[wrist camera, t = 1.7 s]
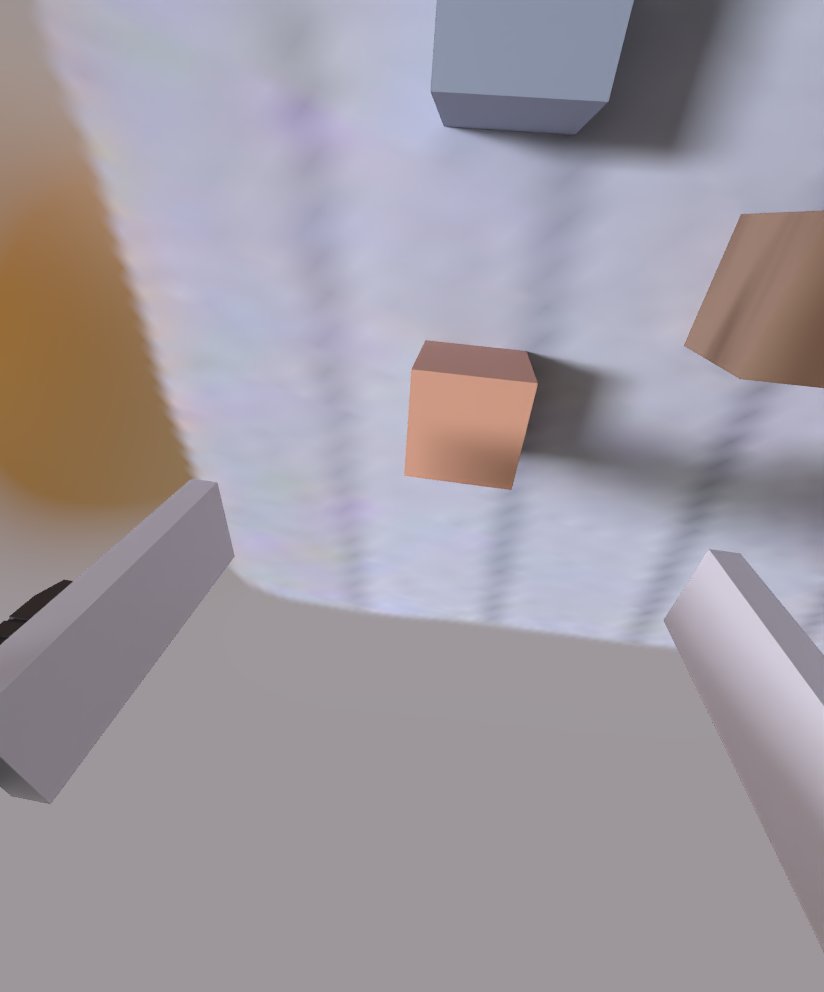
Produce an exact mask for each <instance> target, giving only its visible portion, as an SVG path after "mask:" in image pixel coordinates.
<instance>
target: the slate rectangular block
mask: <svg viewBox="0 0 824 992" xmlns="http://www.w3.org/2000/svg"><path fill="white" fill-rule="evenodd" d="M633 2H634V0H437V5H436V20H435V34H434V49H433V63H432V78H431V94H432V96H433V99H434V102H435V104H436V107H437V110H438V112H439V115H440V117H441V120H442V123H443V125H444V126H448V127H463V128H478V129H494V130H509V131H524V132H539V133H554V134H569V135H575V134H576V133H577V132H578V131H579V130H580V129H581V128H582V127H583V126H584V125H585V124H586V123H587V122H589V121H590V120H591V119H592V118H593V117H594V116H595V115H596V114H597V113H598V112H599V111H600V110H601V109H602V108H603V107H604V106H605V105H606V104H607V103H608V102H609V98H610V94H611V90H612V86H613V82H614V78H615V74H616V70H617V66H618V62H619V58H620V54H621V50H622V46H623V42H624V38H625V34H626V30H627V26H628V22H629V18H630V14H631V10H632V6H633Z"/></svg>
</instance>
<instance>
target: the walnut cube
mask: <svg viewBox="0 0 824 992" xmlns="http://www.w3.org/2000/svg"><path fill="white" fill-rule="evenodd" d="M684 346H685V347H687V348H689V349H690V350H692V351H694V352H695V353H697V354H699V355H700V356H702V357H704V358H705V359H707V360H709V361H711V362H712V363H714V364H716V365H717V366H719V367H721V368H722V369H724V370H726V371H727V372H729V373H731V374H732V375H734V376H736V377H738V378H739V379H745V380H755V381H764V382H773V383H782V384H791V385H800V386H810V387H819V388H824V211H805V212H782V213H760V214H741V216H740V218H739V220H738V223H737V225H736V227H735V230H734V232H733V234H732V237H731V239H730V241H729V243H728V246H727V248H726V250H725V253H724V255H723V257H722V259H721V262H720V264H719V266H718V269H717V271H716V273H715V276H714V278H713V280H712V282H711V285H710V287H709V289H708V292H707V294H706V296H705V298H704V301H703V303H702V305H701V308H700V310H699V312H698V315H697V317H696V319H695V321H694V324H693V326H692V328H691V331H690V333H689V335H688V337H687V340H686V342H685V344H684Z"/></svg>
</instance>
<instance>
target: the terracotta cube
mask: <svg viewBox="0 0 824 992" xmlns="http://www.w3.org/2000/svg"><path fill="white" fill-rule="evenodd" d="M537 386H538V382H537V379H536V377H535V374H534V371H533V368H532V365H531V363H530V360H529V357H528V354H527V352H526V351H520V350H510V349H501V348H491V347H482V346H473V345H463V344H454V343H445V342H435V341H425V343H424V345H423V347H422V349H421V351H420V353H419V355H418V357H417V359H416V361H415V363H414V365H413V367H412V371H411V386H410V400H409V415H408V430H407V445H406V460H405V475H404V476H411V477H418V478H426V479H433V480H441V481H448V482H456V483H463V484H471V485H478V486H486V487H493V488H501V489H508V490H512V486H513V482H514V478H515V474H516V470H517V466H518V462H519V458H520V454H521V450H522V446H523V442H524V438H525V434H526V430H527V426H528V422H529V418H530V414H531V410H532V406H533V402H534V398H535V394H536V390H537Z"/></svg>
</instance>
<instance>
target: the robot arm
mask: <svg viewBox="0 0 824 992" xmlns="http://www.w3.org/2000/svg"><path fill="white" fill-rule="evenodd" d="M233 558H234V552H233V547H232V543H231V539H230V535H229V530H228V526H227V522H226V518H225V513H224V509H223V505H222V500H221V496H220V492H219V488H218V483H217V482H210V481H203V480H195V479H190V480H189V481H188V482H187V483H186V484H185V485H184V486H182V487H181V488H180V489H179V490H178V491H177V492H176V493H174V494H173V495H172V496H171V497H170V498H169V499H167V500H166V501H165V502H164V503H163V504H162V505H161V506H159V507H158V508H157V509H156V510H155V511H154V512H152V513H151V514H150V515H149V516H148V517H147V518H146V519H144V520H143V521H142V522H141V523H140V524H139V525H138V526H136V527H135V528H134V529H133V530H132V531H131V532H129V533H128V534H127V535H126V536H125V537H124V538H123V539H121V541H119V542H118V543H117V544H116V545H115V546H113V547H112V548H111V549H110V550H109V551H108V552H107V553H105V554H104V555H103V556H102V557H101V558H100V559H99V560H97V561H96V562H95V563H94V564H93V565H92V566H90V567H89V568H88V569H87V570H86V571H85V572H83V573H82V574H81V575H80V576H79V577H78V578H77V579H75V580H74V581H68V580H63V581H61V582H59V583H57V584H55V585H53V586H52V587H50V588H48V589H47V590H44V591H42V592H41V593H39V594H37V595H35V596H34V597H32V598H31V599H30V600H29V601H28V602H26V603H25V604H24V605H23V606H21V607H20V608H19V609H18V610H17V611H15V612H14V613H13V614H12V615H11V616H10V618H9V620H8V621H3V622H2V623H1V624H0V787H1V788H3V789H4V790H5V791H6V792H7V793H8V794H10V795H11V796H13V797H18V798H23V799H28V800H33V801H38V802H43V803H48V804H51V803H52V802H53V800H54V799H55V798H56V796H57V795H58V794H59V792H60V791H61V789H62V788H63V787H64V785H65V784H66V783H67V781H68V780H69V779H70V777H71V776H72V775H73V773H74V772H75V771H76V769H77V768H78V766H79V765H80V764H81V762H82V761H83V760H84V759H85V757H86V756H87V755H88V753H89V752H90V750H91V749H92V748H93V746H94V745H95V744H96V742H97V741H98V740H99V738H100V737H101V736H102V734H103V733H104V731H105V730H106V729H107V728H108V726H109V725H110V723H111V722H112V721H113V719H114V718H115V717H116V715H117V714H118V713H119V711H120V710H121V709H122V707H123V706H124V705H125V703H126V702H127V701H128V699H129V698H130V697H131V695H132V694H133V692H134V691H135V690H136V689H137V687H138V686H139V684H140V683H141V682H142V680H143V679H144V678H145V676H146V675H147V673H148V672H149V671H150V670H151V668H152V667H153V666H154V664H155V663H156V662H157V660H158V659H159V657H160V656H161V655H162V653H163V652H164V651H165V649H166V648H167V647H168V645H169V644H170V643H171V641H172V640H173V639H174V637H175V636H176V635H177V633H178V632H179V631H180V629H181V628H182V626H183V625H184V624H185V622H186V621H187V620H188V618H189V617H190V616H191V614H192V613H193V612H194V610H195V609H196V608H197V606H198V605H199V604H200V602H201V601H202V599H203V598H204V597H205V595H206V594H207V593H208V592H209V590H210V589H211V587H212V586H213V585H214V583H215V582H216V581H217V579H218V578H219V577H220V575H221V574H222V573H223V571H224V570H225V569H226V567H227V566H228V565H229V563H230V562H231V561H232V559H233ZM664 622H665V624H666V626H667V628H668V630H669V632H670V635H671V637H672V639H673V641H674V643H675V645H676V647H677V649H678V651H679V653H680V655H681V657H682V659H683V661H684V664H685V665H686V668H687V670H688V672H689V674H690V676H691V678H692V680H693V682H694V684H695V686H696V688H697V690H698V693H699V694H700V697H701V699H702V701H703V703H704V705H705V707H706V709H707V711H708V713H709V715H710V717H711V720H712V721H713V724H714V726H715V728H716V730H717V732H718V734H719V736H720V738H721V740H722V742H723V744H724V747H725V749H726V751H727V753H728V754H729V757H730V759H731V761H732V763H733V765H734V767H735V769H736V771H737V773H738V776H739V778H740V780H741V782H742V783H743V786H744V788H745V790H746V792H747V794H748V796H749V798H750V800H751V802H752V805H753V807H754V808H755V811H756V813H757V815H758V817H759V819H760V821H761V823H762V825H763V827H764V829H765V832H766V834H767V836H768V837H769V840H770V842H771V844H772V846H773V848H774V850H775V852H776V854H777V856H778V858H779V861H780V863H781V865H782V867H783V869H784V871H785V873H786V875H787V877H788V879H789V881H790V883H791V885H792V887H793V889H794V892H795V893H796V896H797V898H798V900H799V902H800V904H801V906H802V908H803V910H804V912H805V914H806V917H807V919H808V920H809V923H810V925H811V927H812V929H813V931H814V933H815V935H816V937H817V939H818V941H819V943H820V945H821V948H822V950H823V952H824V655H823V654H822V652H821V651H820V650H819V649H818V648H817V646H816V645H815V644H814V643H813V641H812V640H811V639H810V638H809V637H808V635H807V634H806V633H805V632H804V631H803V629H802V628H801V627H800V626H799V624H798V623H797V622H796V621H795V620H794V618H793V617H792V616H791V615H790V613H789V612H788V611H787V610H786V609H785V607H784V606H783V605H782V604H781V602H780V601H779V600H778V599H777V598H776V596H775V595H774V594H773V593H772V591H771V590H770V589H769V588H768V587H767V585H766V584H765V583H764V582H763V581H762V579H761V578H760V577H759V576H758V574H757V573H756V572H755V571H754V570H753V568H752V567H751V566H750V565H749V563H748V562H747V561H746V560H745V559H744V557H743V556H742V555H741V554H740V553H733V552H725V551H718V550H711V549H709V550H708V551H707V553H706V555H705V556H704V558H703V559H702V561H701V562H700V564H699V566H698V567H697V569H696V570H695V572H694V573H693V575H692V577H691V578H690V580H689V581H688V583H687V584H686V586H685V588H684V589H683V591H682V592H681V594H680V595H679V597H678V598H677V600H676V602H675V603H674V605H673V606H672V608H671V609H670V611H669V613H668V614H667V616H666V617H665V619H664Z"/></svg>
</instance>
